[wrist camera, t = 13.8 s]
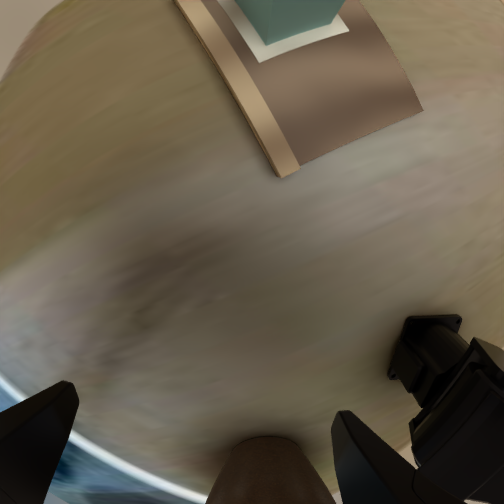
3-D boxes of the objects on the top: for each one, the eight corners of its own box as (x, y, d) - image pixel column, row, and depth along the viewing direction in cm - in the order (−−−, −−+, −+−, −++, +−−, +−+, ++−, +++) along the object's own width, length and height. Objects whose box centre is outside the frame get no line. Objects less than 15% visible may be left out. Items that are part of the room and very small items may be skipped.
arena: (419, 111, 17) (441, 106, 15) (276, 176, 19) (281, 178, 16) (312, -49, 13) (319, -69, 11) (172, -2, 15) (161, -22, 12)
